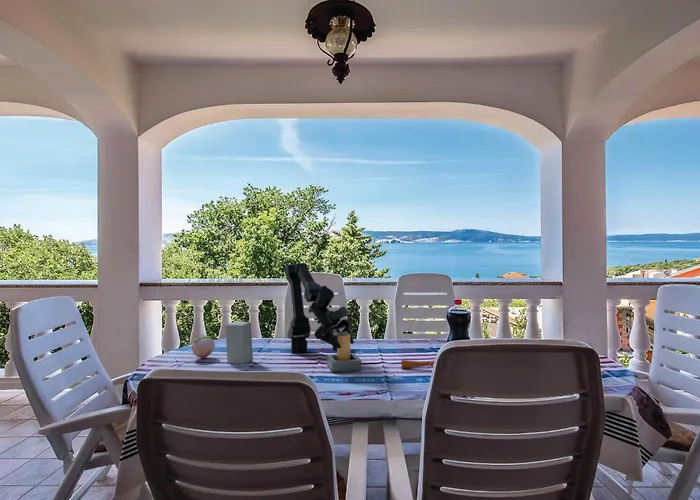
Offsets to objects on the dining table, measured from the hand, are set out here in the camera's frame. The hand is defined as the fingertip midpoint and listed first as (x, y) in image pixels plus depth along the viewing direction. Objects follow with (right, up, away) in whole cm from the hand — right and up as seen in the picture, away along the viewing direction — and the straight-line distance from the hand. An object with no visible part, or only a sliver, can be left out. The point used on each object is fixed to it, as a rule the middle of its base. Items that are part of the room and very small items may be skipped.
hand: (346, 345), depth 158 cm
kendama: (+31, -9, -2) cm, 32 cm away
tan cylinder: (-1, -8, +1) cm, 8 cm away
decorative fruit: (-60, -9, +15) cm, 62 cm away
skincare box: (-43, -9, +9) cm, 45 cm away
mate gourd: (-4, -9, +33) cm, 34 cm away
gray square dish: (-1, -9, +1) cm, 9 cm away
